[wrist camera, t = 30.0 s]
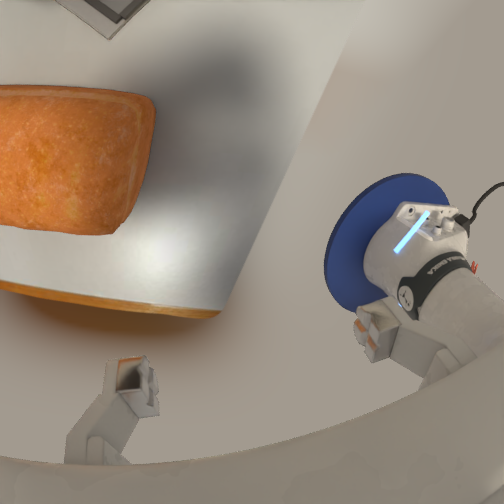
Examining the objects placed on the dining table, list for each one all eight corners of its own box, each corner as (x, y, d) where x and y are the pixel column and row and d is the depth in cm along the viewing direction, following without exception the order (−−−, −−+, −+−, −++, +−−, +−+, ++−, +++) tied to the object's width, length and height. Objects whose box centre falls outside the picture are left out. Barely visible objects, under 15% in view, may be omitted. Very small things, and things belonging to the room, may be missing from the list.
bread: (-15, 84, 24) (-89, 98, 11) (162, 95, 33) (150, 100, 19) (-21, 180, 30) (-85, 228, 17) (141, 201, 39) (123, 266, 25)
